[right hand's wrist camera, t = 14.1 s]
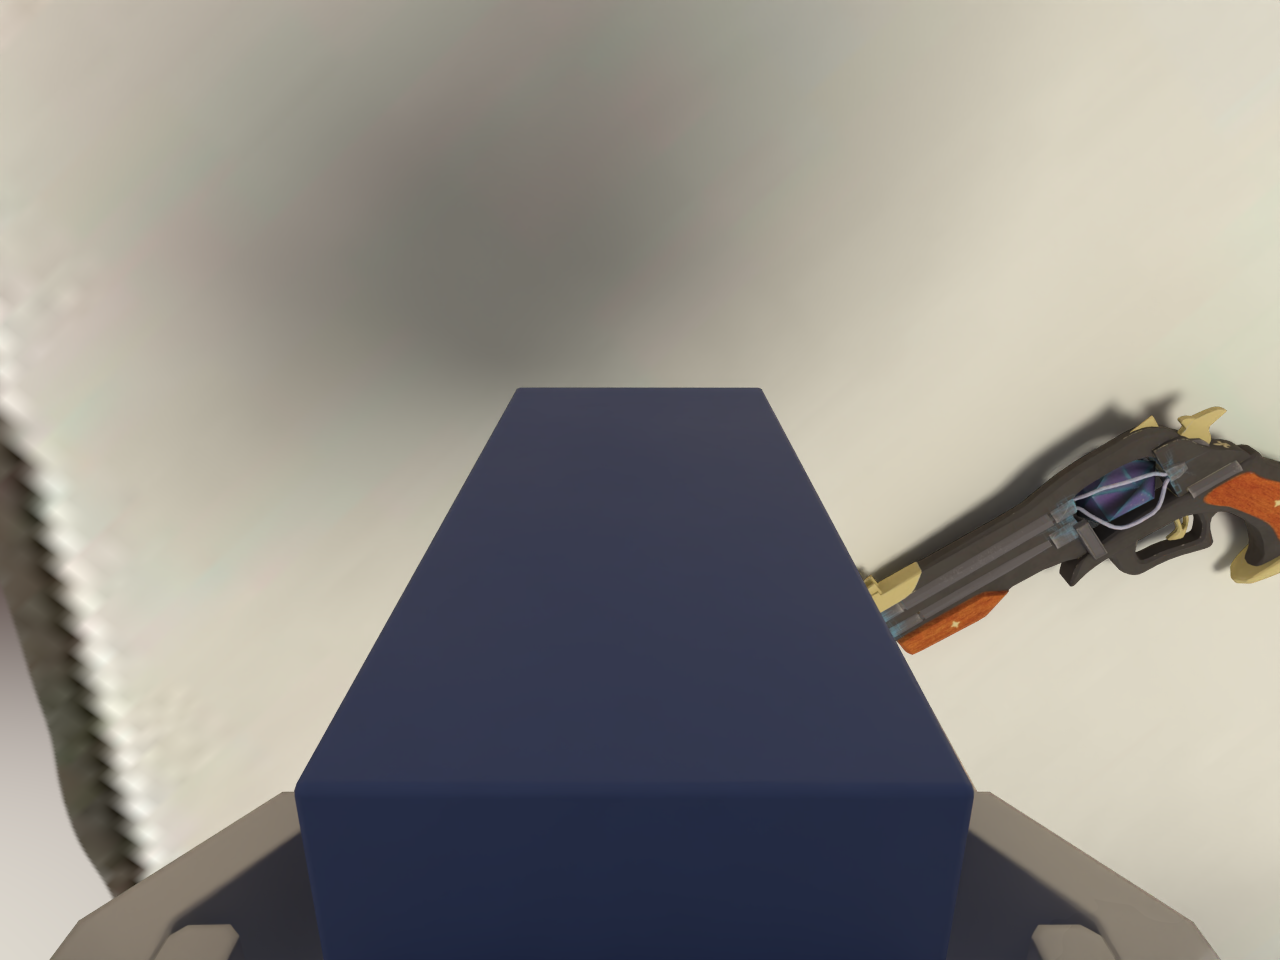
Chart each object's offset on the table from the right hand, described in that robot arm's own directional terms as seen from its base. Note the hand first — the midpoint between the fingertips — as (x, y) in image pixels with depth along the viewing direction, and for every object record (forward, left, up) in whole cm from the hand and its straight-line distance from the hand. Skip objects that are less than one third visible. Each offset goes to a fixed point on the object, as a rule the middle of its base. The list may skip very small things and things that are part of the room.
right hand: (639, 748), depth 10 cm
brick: (0, 0, -5) cm, 5 cm away
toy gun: (+19, +9, -25) cm, 32 cm away
